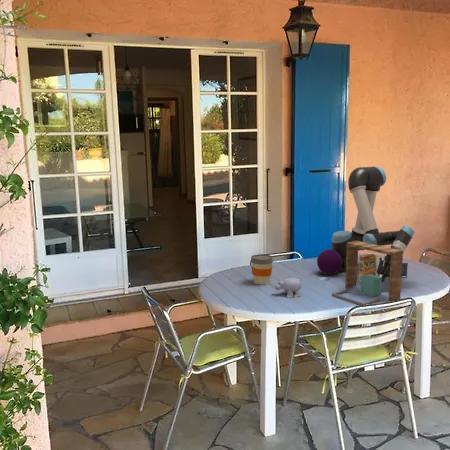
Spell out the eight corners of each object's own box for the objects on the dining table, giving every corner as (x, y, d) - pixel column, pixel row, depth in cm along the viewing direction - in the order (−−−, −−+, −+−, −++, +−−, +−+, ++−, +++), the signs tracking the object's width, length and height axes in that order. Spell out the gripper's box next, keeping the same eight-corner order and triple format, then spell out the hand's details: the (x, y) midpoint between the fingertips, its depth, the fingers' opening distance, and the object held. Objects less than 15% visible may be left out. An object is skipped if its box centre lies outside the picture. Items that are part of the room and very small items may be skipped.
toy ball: (342, 271, 303) (343, 247, 300) (341, 278, 289) (342, 253, 286) (317, 269, 307) (318, 246, 304) (315, 276, 292) (316, 252, 289)
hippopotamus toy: (272, 291, 266) (272, 274, 264) (299, 290, 268) (299, 273, 266) (277, 298, 255) (277, 280, 254) (305, 296, 257) (305, 279, 256)
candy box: (362, 282, 280) (363, 256, 277) (358, 280, 284) (359, 254, 281) (375, 281, 282) (377, 255, 280) (371, 279, 286) (372, 253, 284)
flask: (406, 276, 291) (407, 258, 289) (407, 277, 288) (408, 260, 286) (390, 276, 292) (391, 258, 290) (391, 277, 289) (392, 260, 287)
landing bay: (331, 295, 258) (331, 293, 258) (347, 290, 266) (347, 288, 266) (363, 306, 242) (363, 304, 242) (380, 300, 250) (380, 298, 250)
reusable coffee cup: (271, 286, 275) (271, 260, 272) (249, 284, 277) (249, 259, 275) (273, 279, 287) (274, 254, 284) (252, 278, 289) (252, 253, 287)
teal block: (360, 292, 263) (360, 276, 261) (368, 290, 267) (369, 274, 265) (372, 296, 256) (373, 280, 255) (380, 293, 260) (381, 277, 259)
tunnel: (345, 287, 271) (346, 242, 266) (354, 285, 276) (356, 240, 271) (390, 301, 248) (393, 252, 243) (400, 298, 253) (403, 250, 248)
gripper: (383, 244, 273) (363, 279, 266) (404, 248, 263) (384, 284, 256) (388, 252, 277) (369, 286, 270) (409, 256, 267) (390, 292, 260)
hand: (376, 285), depth 263 cm, fingers closed
